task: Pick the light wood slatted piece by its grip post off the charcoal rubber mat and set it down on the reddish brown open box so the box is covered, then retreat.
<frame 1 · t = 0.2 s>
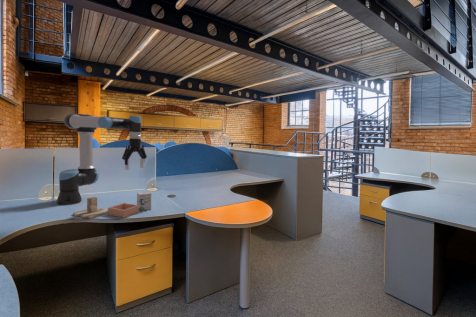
hand: (134, 168, 178), 28 cm above the table, fingers open, 13 cm apart
reddish brown open box: (123, 214, 165), on the table
ink box: (144, 209, 177), on the table
light wood slatted piece: (92, 213, 162), point 1 cm above the table, touching mat
mat: (92, 214, 162), on the table
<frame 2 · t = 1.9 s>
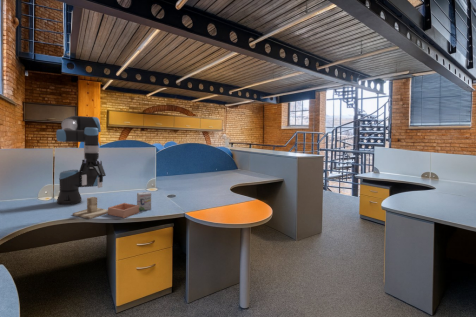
hand: (92, 186, 160), 18 cm above the table, fingers open, 13 cm apart
nothing on the table moved.
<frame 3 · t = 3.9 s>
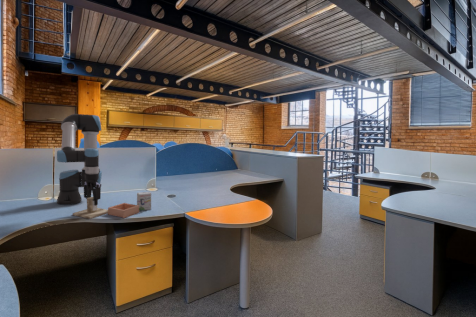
hand: (92, 209, 162), 3 cm above the table, fingers closed on light wood slatted piece, 4 cm apart
light wood slatted piece: (92, 213, 162), point 1 cm above the table, touching gripper, mat
everything else where it was.
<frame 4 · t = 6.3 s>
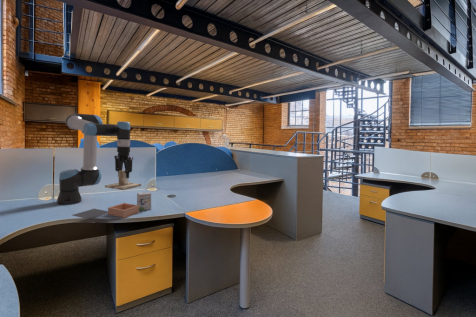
hand: (123, 182, 163), 21 cm above the table, fingers closed on light wood slatted piece, 4 cm apart
light wood slatted piece: (123, 186, 163), point 18 cm above the table, touching gripper
everything else where it was.
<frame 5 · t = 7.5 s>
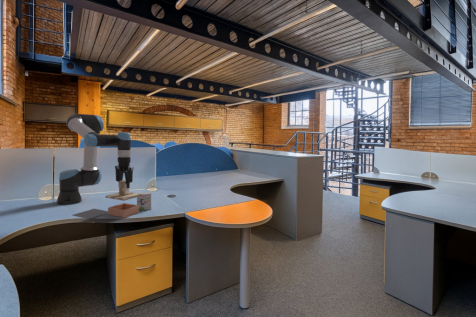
hand: (124, 192, 164), 14 cm above the table, fingers closed on light wood slatted piece, 4 cm apart
light wood slatted piece: (124, 196, 164), point 12 cm above the table, touching gripper
everything else where it was.
when the fingers open (9 cm above the table, at t = 8.6 s): light wood slatted piece drops 1 cm, resting on reddish brown open box.
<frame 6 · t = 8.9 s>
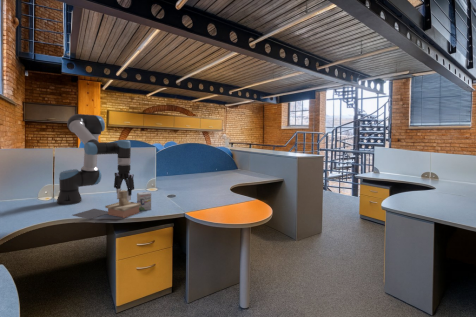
hand: (123, 199, 164), 10 cm above the table, fingers open, 7 cm apart
light wood slatted piece: (123, 206, 165), point 5 cm above the table, touching reddish brown open box
everything else where it was.
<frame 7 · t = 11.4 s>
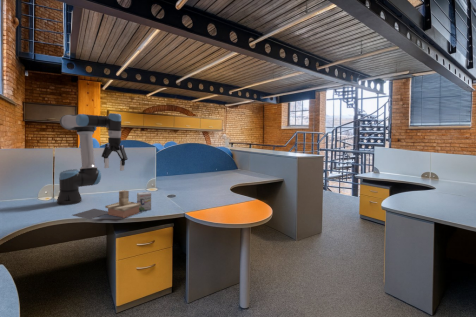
hand: (114, 169, 170), 28 cm above the table, fingers open, 13 cm apart
nothing on the table moved.
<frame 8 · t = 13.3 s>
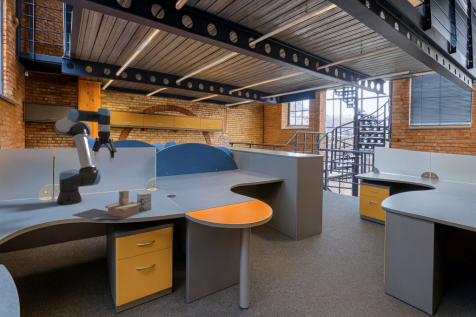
hand: (104, 161, 177), 32 cm above the table, fingers open, 13 cm apart
nothing on the table moved.
at the end: light wood slatted piece 0.1 cm off-centre on the reddish brown open box, point 5.0 cm above the reddish brown open box's base; light wood slatted piece tilted 0°; the gripper is holding nothing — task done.
